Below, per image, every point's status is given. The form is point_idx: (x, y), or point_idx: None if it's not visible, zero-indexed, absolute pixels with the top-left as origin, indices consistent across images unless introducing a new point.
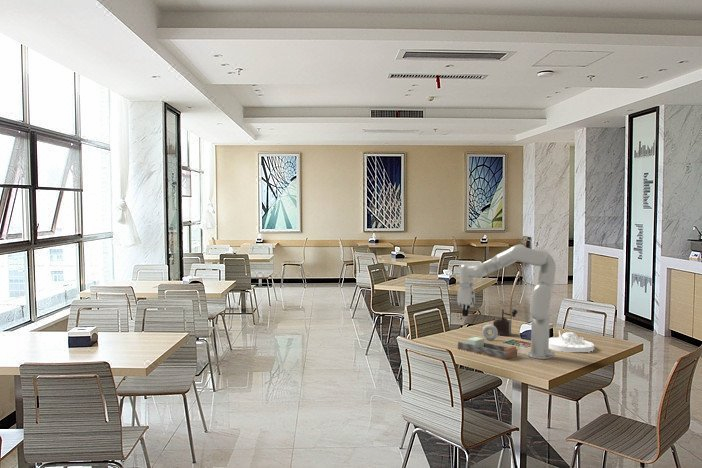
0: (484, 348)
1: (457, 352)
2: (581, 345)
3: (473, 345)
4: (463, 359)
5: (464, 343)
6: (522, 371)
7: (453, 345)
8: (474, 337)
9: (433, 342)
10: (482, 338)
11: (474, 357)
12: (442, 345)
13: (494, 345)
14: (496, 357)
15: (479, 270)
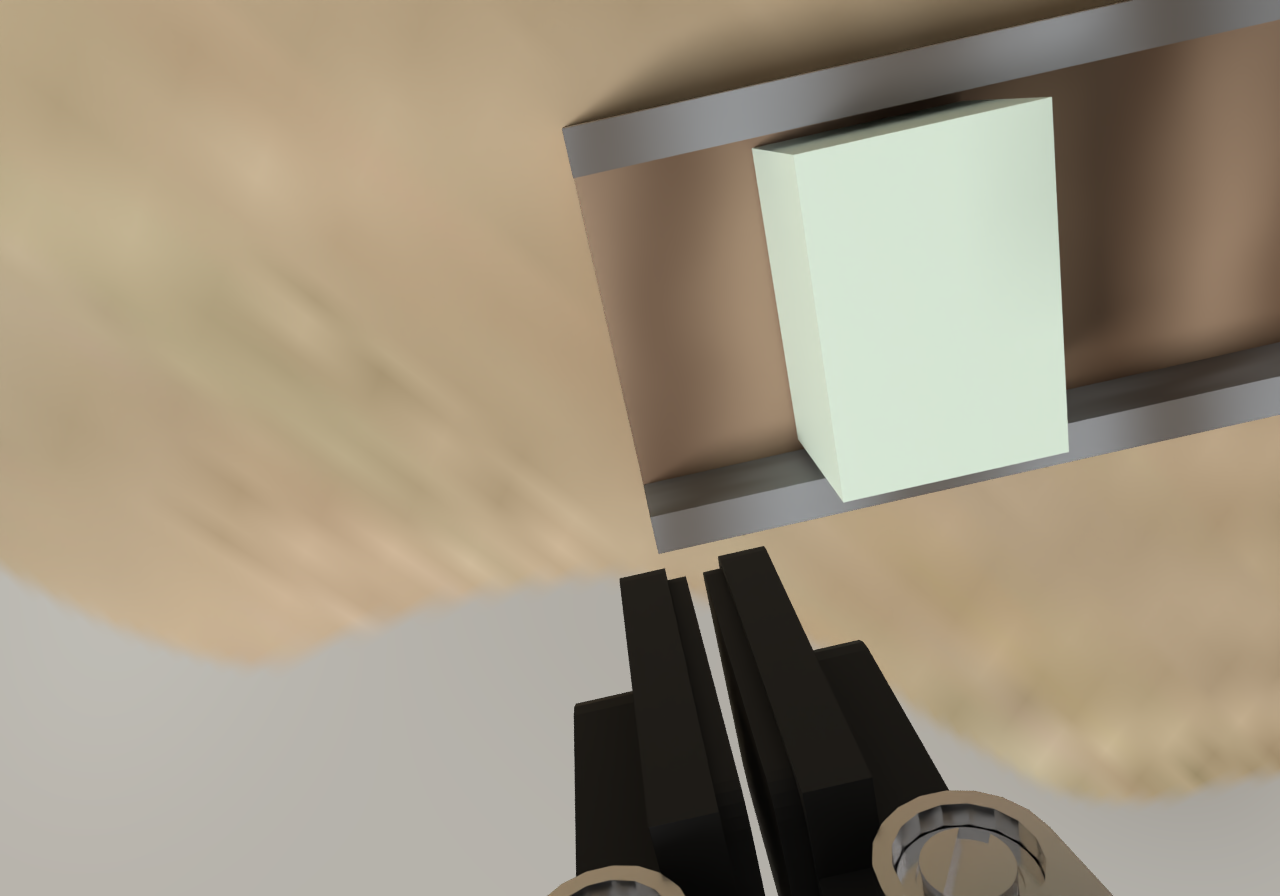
0: (1265, 413)
1: (821, 643)
2: None
3: (1016, 465)
4: (1141, 794)
5: (804, 511)
6: None
7: (391, 400)
8: (828, 232)
9: (42, 580)
10: (1016, 124)
11: (1171, 607)
12: (316, 575)
13: (1258, 21)
14: None
15: None
